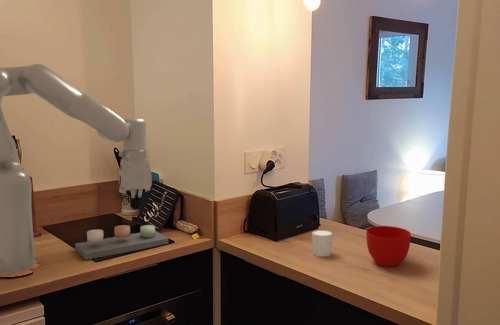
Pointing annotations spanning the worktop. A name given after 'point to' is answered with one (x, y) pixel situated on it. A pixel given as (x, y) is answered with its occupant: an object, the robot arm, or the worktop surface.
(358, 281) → the worktop surface
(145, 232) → the sage button
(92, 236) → the cream button
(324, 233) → the white tapered tub
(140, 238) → the button board
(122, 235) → the terracotta button
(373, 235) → the ceramic cup
